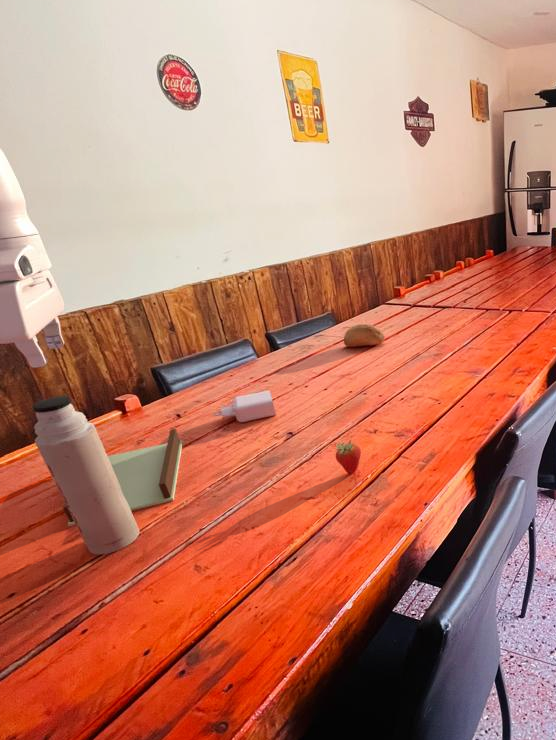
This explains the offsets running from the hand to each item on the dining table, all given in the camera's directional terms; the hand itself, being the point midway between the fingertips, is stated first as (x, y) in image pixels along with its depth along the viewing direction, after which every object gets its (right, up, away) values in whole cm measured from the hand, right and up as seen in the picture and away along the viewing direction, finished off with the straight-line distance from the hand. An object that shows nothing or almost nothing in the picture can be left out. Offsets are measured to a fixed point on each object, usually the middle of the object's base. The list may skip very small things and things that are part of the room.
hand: (49, 356), depth 76 cm
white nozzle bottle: (0, -9, +64) cm, 64 cm away
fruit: (+36, -21, +35) cm, 55 cm away
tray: (-13, -23, +37) cm, 45 cm away
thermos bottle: (-3, -32, +18) cm, 37 cm away
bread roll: (+21, +17, +115) cm, 118 cm away
